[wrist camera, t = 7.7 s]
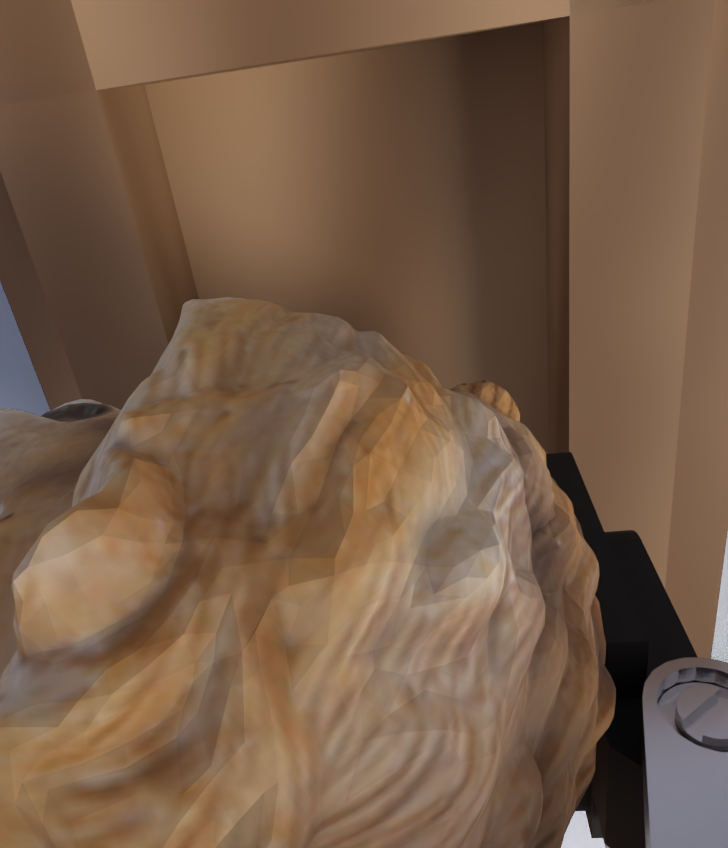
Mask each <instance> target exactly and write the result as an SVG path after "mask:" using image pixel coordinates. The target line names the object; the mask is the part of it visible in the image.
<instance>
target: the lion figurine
mask: <svg viewBox="0 0 728 848" xmlns="http://www.w3.org/2000/svg"><path fill="white" fill-rule="evenodd" d="M519 421H520V413H519V410H518V407H517V405H516V403H515V402H514V400H513V399H512V397H511V396H510V395H509V393H508V392H507V391H506V390H505V389H504V388H502V387H501V386H499V385H497V384H495V383H492V382H490V381H487V380H477V381H474V382H471V383H463V384H460V385H457V386H455V387H454V388H452V389H449V390H448V389H445V388H443V386H442V385H441V384H440V382H439V381H438V379H437V378H436V377H435V375H434V374H433V372H432V371H431V369H430V368H429V367H428V366H427V365H426V364H424V363H423V362H422V361H419V360H417V359H414V358H412V357H409V356H406V355H404V354H401V353H400V352H399V351H398V350H397V349H396V348H395V347H394V346H393V345H392V344H391V343H389V342H388V341H387V340H386V339H385V338H384V337H383V336H382V335H381V334H380V333H378V332H375V331H361V332H358V331H356V330H355V329H354V328H353V327H352V326H351V325H350V324H349V323H348V322H346V321H344V320H342V319H341V318H339V317H334V316H329V315H324V314H319V313H296V312H290V311H289V310H287V309H285V308H283V307H281V306H279V305H276V304H274V303H271V302H268V301H263V300H258V299H243V298H232V297H224V298H215V299H191V300H189V301H187V302H185V303H184V304H183V306H182V310H181V315H180V320H179V323H178V325H177V328H176V330H175V332H174V335H173V337H172V339H171V341H170V343H169V344H168V346H167V348H166V349H165V351H164V353H163V354H162V356H161V358H160V359H159V361H158V363H157V365H156V367H155V368H154V370H153V372H152V374H151V375H150V376H149V377H148V378H146V379H145V380H144V381H142V382H141V384H140V385H139V386H138V387H137V388H136V390H135V391H134V392H133V393H132V394H131V396H130V397H129V398H128V400H127V401H126V403H125V405H124V406H123V408H122V410H120V409H118V408H115V407H113V406H111V405H105V404H102V403H100V402H97V401H94V400H90V399H80V400H76V401H72V402H68V403H65V404H63V405H61V406H59V407H57V408H55V409H53V410H51V411H49V412H47V413H45V414H44V415H42V416H39V415H35V414H32V413H28V412H25V411H21V410H17V409H0V848H561V845H562V841H563V838H564V834H565V832H566V829H567V827H568V825H569V823H570V820H571V818H572V816H573V814H574V812H575V810H576V808H577V807H578V805H579V803H580V801H581V799H582V797H583V795H584V794H585V792H586V790H587V788H588V786H589V784H590V782H591V780H592V778H593V775H594V772H595V762H596V744H597V741H598V740H599V739H600V738H601V736H602V735H603V734H604V733H605V731H606V730H607V729H608V728H609V726H610V724H611V722H612V720H613V717H614V711H615V703H616V688H615V685H614V683H613V680H612V678H611V675H610V674H609V672H608V671H607V669H606V667H605V666H604V665H605V656H606V641H605V636H604V631H603V624H602V618H601V611H600V605H599V601H598V599H597V598H596V596H595V593H596V590H597V586H598V580H599V563H598V561H597V558H596V556H595V554H594V552H593V550H592V549H591V548H590V546H589V545H588V544H587V542H586V541H585V539H584V537H583V533H582V530H581V526H580V523H579V522H578V520H577V518H576V516H575V515H574V510H573V505H572V502H571V500H570V499H569V498H568V496H567V495H566V493H565V492H564V491H562V490H561V489H560V488H559V487H558V485H557V483H556V482H555V480H554V479H553V478H552V477H551V476H550V472H549V470H548V468H547V464H546V452H545V451H544V449H543V448H542V447H541V445H540V444H539V443H538V441H537V440H536V439H535V437H534V436H533V434H532V433H531V432H530V430H529V429H528V428H527V427H526V426H525V425H524V424H522V423H520V422H519Z"/></svg>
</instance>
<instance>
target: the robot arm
mask: <svg viewBox="0 0 728 848" xmlns="http://www.w3.org/2000/svg"><path fill="white" fill-rule="evenodd" d="M546 464H547V468H548V470H549V472H550V476H551V477H552V478H553V479H554V480H555V482H556V483H557V485H558V487H559V488H560V489H561V490H562V491H564V492H565V493H566V495H567V496H568V498H569V499H570V500H571V502H572V505H573V510H574V515H575V516H576V518H577V520H578V522H579V523H580V526H581V530H582V533H583V537H584V539H585V541H586V542H587V544H588V545H589V546H590V548H591V549H592V550H593V552H594V554H595V556H596V558H597V561H598V563H599V580H598V586H597V590H596V593H595V596H596V598H597V599H598V601H599V605H600V611H601V618H602V624H603V631H604V636H605V641H606V656H605V665H604V666H605V667H606V669H607V671H608V672H609V674H610V675H611V678H612V680H613V683H614V685H615V688H616V703H615V711H614V717H613V720H612V722H611V724H610V726H609V728H608V729H607V730H606V731H605V733H604V734H603V735H602V736H601V738H600V739H599V740H598V741H597V744H596V762H595V772H594V775H593V778H592V780H591V782H590V784H589V786H588V788H587V790H586V792H585V794H584V795H583V797H582V799H581V801H580V803H579V805H578V807H577V808H576V810H575V811H586V815H587V819H588V823H589V828H590V832H591V836H592V838H604V842H605V844H606V845H607V846H608V847H610V848H728V663H726V662H722V661H718V660H713V659H709V658H698V657H697V655H696V652H695V650H694V648H693V646H692V644H691V642H690V640H689V638H688V636H687V634H686V632H685V630H684V628H683V625H682V623H681V621H680V619H679V617H678V615H677V613H676V611H675V609H674V607H673V605H672V603H671V601H670V598H669V596H668V594H667V592H666V590H665V588H664V586H663V584H662V582H661V580H660V578H659V576H658V574H657V572H656V569H655V567H654V565H653V563H652V561H651V559H650V557H649V555H648V553H647V551H646V549H645V547H644V545H643V542H642V540H641V538H640V537H639V535H638V534H637V532H635V531H634V530H625V531H611V532H604V530H603V527H602V525H601V522H600V520H599V518H598V515H597V513H596V510H595V508H594V505H593V503H592V501H591V498H590V496H589V493H588V491H587V488H586V486H585V484H584V481H583V479H582V476H581V474H580V471H579V469H578V467H577V464H576V462H575V459H574V457H573V455H572V453H571V452H562V453H550V454H546Z"/></svg>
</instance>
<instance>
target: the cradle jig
mask: <svg viewBox="0 0 728 848" xmlns="http://www.w3.org/2000/svg"><path fill="white" fill-rule="evenodd" d="M0 281H1V283H2V286H3V289H4V291H5V294H6V296H7V299H8V302H9V304H10V307H11V309H12V312H13V314H14V317H15V320H16V322H17V325H18V327H19V330H20V333H21V335H22V338H23V340H24V343H25V345H26V348H27V351H28V353H29V356H30V358H31V361H32V364H33V366H34V369H35V371H36V374H37V377H38V379H39V382H40V384H41V387H42V389H43V392H44V395H45V397H46V400H47V402H48V405H49V408H50V410H53V409H55V408H57V407H59V406H61V405H63V404H65V403H68V402H72V401H76V400H80V399H90V400H94V401H97V402H100V403H102V404H105V405H111V406H113V407H115V408H118V409H120V410H122V408H123V406H124V405H125V403H126V401H127V400H128V398H129V397H130V396H131V394H132V393H133V392H134V391H135V390H136V388H137V387H138V386H139V385H140V384H141V382H142V381H144V380H145V379H146V378H148V377H149V376H150V375H151V374H152V372H153V370H154V368H155V367H156V365H157V363H158V361H159V359H160V358H161V356H162V354H163V353H164V351H165V349H166V348H167V346H168V344H169V343H170V341H171V339H172V337H173V335H174V332H175V330H176V328H177V325H178V323H179V320H180V315H181V310H182V306H183V304H184V303H185V302H187V301H189V300H191V299H215V298H224V297H232V298H243V299H258V300H263V301H268V302H271V303H274V304H276V305H279V306H281V307H283V308H285V309H287V310H289V311H290V312H296V313H319V314H324V315H329V316H334V317H339V318H341V319H342V320H344V321H346V322H348V323H349V324H350V325H351V326H352V327H353V328H354V329H355V330H356V331H358V332H361V331H375V332H378V333H380V334H381V335H382V336H383V337H384V338H385V339H386V340H387V341H388V342H389V343H391V344H392V345H393V346H394V347H395V348H396V349H397V350H398V351H399V352H400V353H401V354H404V355H406V356H409V357H412V358H414V359H417V360H419V361H422V362H423V363H424V364H426V365H427V366H428V367H429V368H430V369H431V371H432V372H433V374H434V375H435V377H436V378H437V379H438V381H439V382H440V384H441V385H442V386H443V388H445V389H448V390H449V389H452V388H454V387H455V386H457V385H460V384H463V383H471V382H474V381H477V380H487V381H490V382H492V383H495V384H497V385H499V386H501V387H502V388H504V389H505V390H506V391H507V392H508V393H509V395H510V396H511V397H512V399H513V400H514V402H515V403H516V405H517V407H518V410H519V413H520V421H519V422H520V423H522V424H524V425H525V426H526V427H527V428H528V429H529V430H530V432H531V433H532V434H533V436H534V437H535V439H536V440H537V441H538V443H539V444H540V445H541V447H542V448H543V449H544V451H545V452H546V454H550V453H562V452H571V453H572V455H573V457H574V459H575V462H576V464H577V467H578V469H579V471H580V474H581V476H582V479H583V481H584V484H585V486H586V488H587V491H588V493H589V496H590V498H591V501H592V503H593V505H594V508H595V510H596V513H597V515H598V518H599V520H600V522H601V525H602V527H603V530H604V532H611V531H625V530H634V531H635V532H637V534H638V535H639V537H640V538H641V540H642V542H643V545H644V547H645V549H646V551H647V553H648V555H649V557H650V559H651V561H652V563H653V565H654V567H655V569H656V572H657V574H658V576H659V578H660V580H661V582H662V584H663V586H664V588H665V590H666V592H667V594H668V596H669V598H670V601H671V603H672V605H673V607H674V609H675V611H676V613H677V615H678V617H679V619H680V621H681V623H682V625H683V628H684V630H685V632H686V634H687V636H688V638H689V640H690V642H691V644H692V646H693V648H694V650H695V652H696V655H697V657H698V658H709V659H711V652H712V645H713V637H714V629H715V622H716V614H717V607H718V599H719V591H720V584H721V576H722V569H723V561H724V553H725V546H726V538H727V531H728V0H0Z"/></svg>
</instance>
